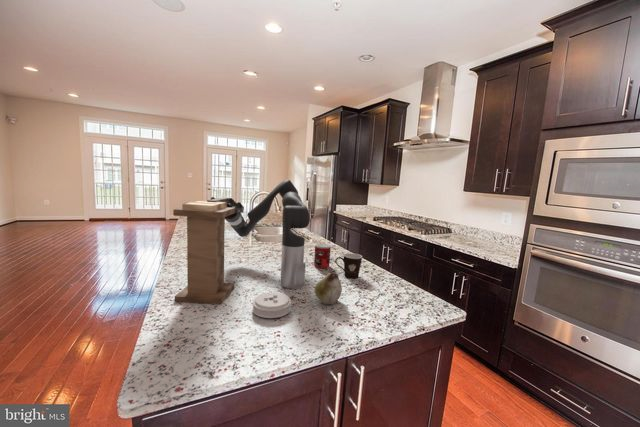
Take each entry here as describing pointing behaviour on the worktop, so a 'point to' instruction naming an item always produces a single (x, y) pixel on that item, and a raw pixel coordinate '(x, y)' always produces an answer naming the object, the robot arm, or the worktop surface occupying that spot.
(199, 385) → the worktop surface
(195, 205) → the wooden board
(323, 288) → the fruit
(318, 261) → the canned food
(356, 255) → the coffee mug
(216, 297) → the tall stand
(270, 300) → the lid
